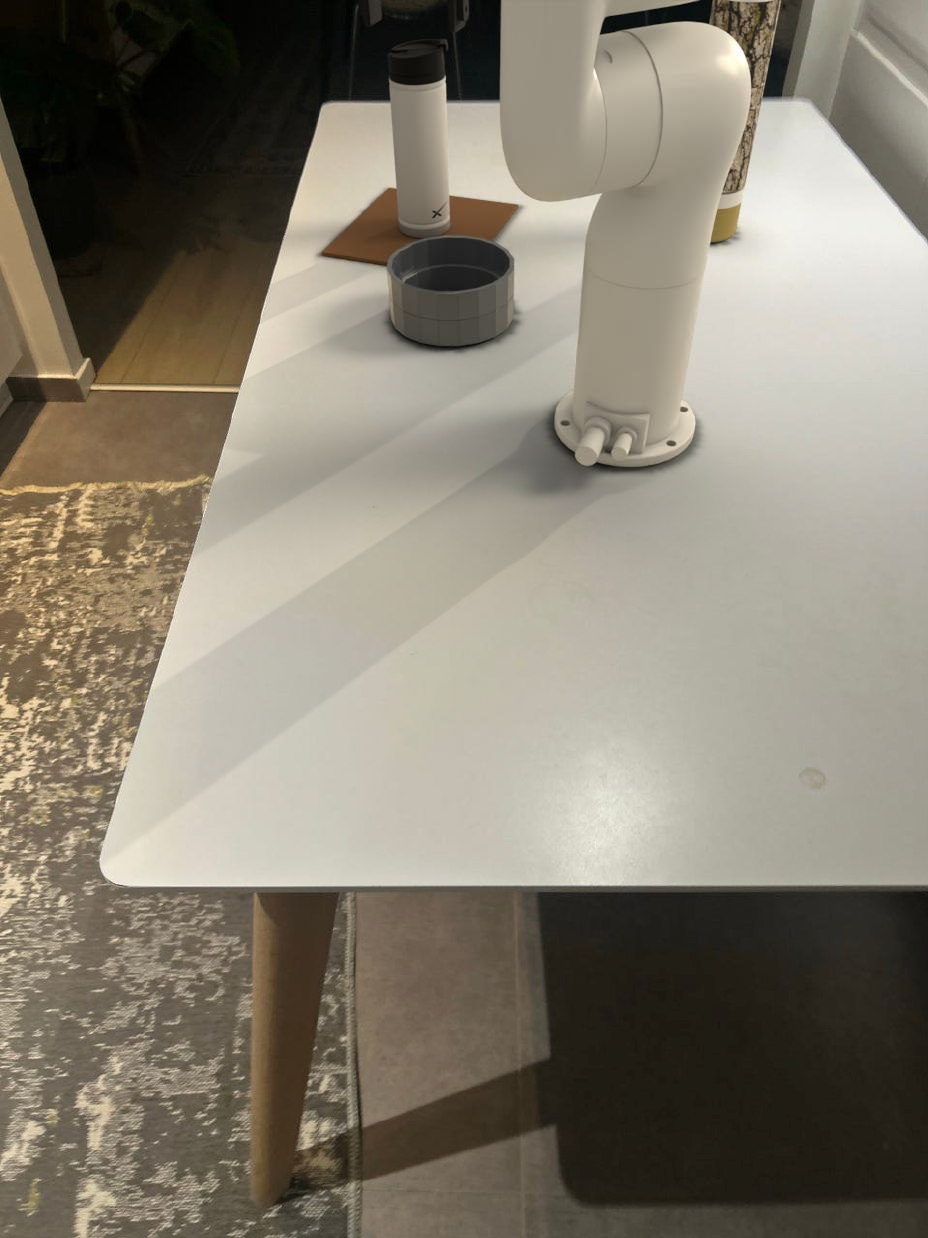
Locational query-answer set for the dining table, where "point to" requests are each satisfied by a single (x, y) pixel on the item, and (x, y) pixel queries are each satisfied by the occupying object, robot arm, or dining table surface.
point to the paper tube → (751, 19)
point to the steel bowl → (451, 290)
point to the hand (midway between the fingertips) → (414, 25)
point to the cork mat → (382, 237)
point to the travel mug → (420, 136)
